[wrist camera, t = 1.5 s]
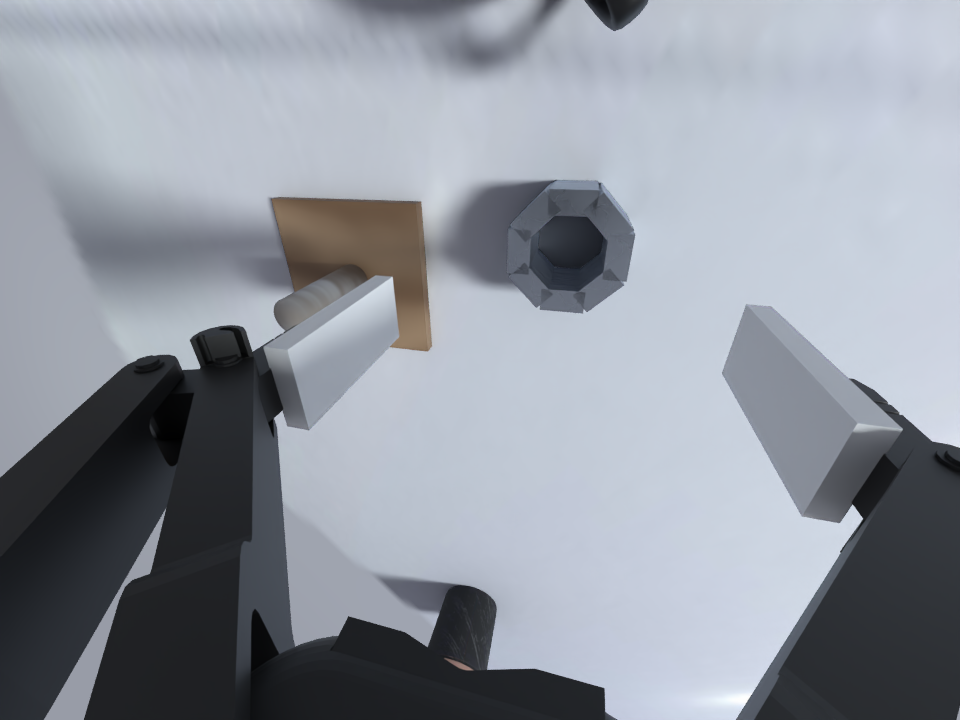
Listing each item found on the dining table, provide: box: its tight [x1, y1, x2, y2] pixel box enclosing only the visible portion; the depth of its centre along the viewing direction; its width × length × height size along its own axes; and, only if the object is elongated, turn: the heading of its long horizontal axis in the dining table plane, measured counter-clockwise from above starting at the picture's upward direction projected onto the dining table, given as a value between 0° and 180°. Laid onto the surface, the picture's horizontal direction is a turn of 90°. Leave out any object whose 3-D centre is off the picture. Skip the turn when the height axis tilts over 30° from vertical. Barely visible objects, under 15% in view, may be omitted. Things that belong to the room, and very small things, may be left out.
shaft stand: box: [272, 197, 432, 351], centre depth 29 cm, size 12×12×9 cm
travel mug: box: [428, 586, 497, 670], centre depth 45 cm, size 8×8×20 cm
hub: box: [507, 180, 635, 313], centre depth 25 cm, size 7×7×5 cm
